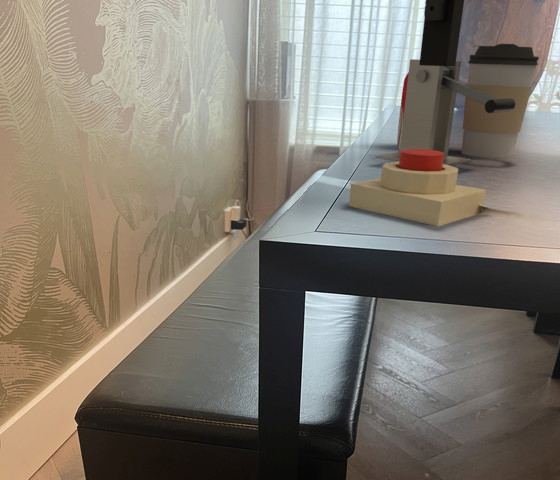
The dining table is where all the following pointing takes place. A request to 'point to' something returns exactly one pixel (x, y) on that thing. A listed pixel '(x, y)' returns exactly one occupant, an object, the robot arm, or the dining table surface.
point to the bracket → (428, 112)
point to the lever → (477, 95)
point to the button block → (418, 195)
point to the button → (421, 160)
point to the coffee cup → (503, 85)
